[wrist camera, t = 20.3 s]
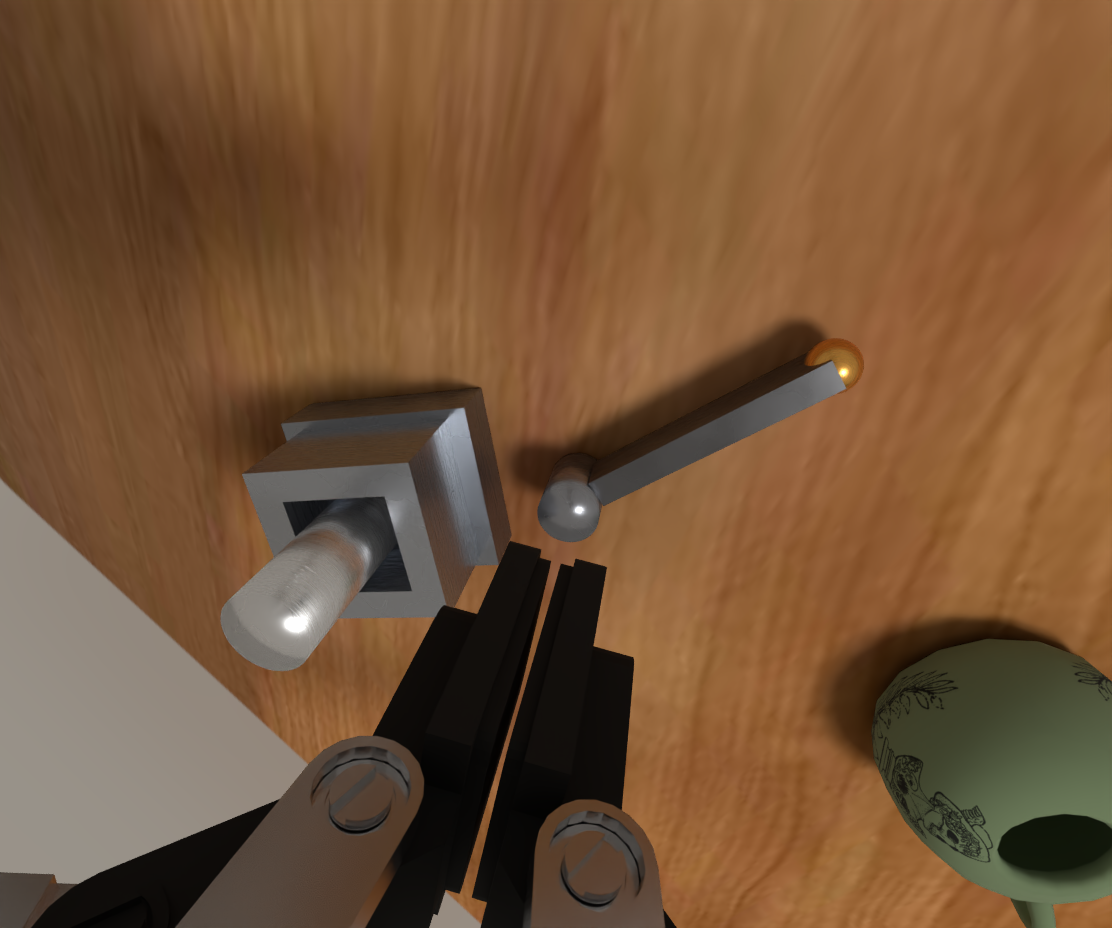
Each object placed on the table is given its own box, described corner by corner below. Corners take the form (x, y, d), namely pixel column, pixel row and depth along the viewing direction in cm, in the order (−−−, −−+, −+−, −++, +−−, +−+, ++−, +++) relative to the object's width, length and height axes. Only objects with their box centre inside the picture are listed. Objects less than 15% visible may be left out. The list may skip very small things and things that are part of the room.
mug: (850, 633, 36) (898, 763, 28) (1121, 607, 32) (1259, 746, 25) (873, 824, 42) (917, 974, 34) (1103, 819, 38) (1210, 984, 31)
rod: (348, 469, 33) (205, 597, 23) (410, 461, 32) (287, 590, 22) (370, 528, 35) (244, 672, 25) (430, 522, 34) (323, 669, 24)
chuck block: (310, 403, 35) (218, 465, 28) (481, 388, 33) (427, 450, 26) (355, 541, 39) (283, 626, 32) (511, 535, 37) (471, 625, 30)
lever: (835, 312, 28) (858, 334, 25) (862, 368, 29) (888, 397, 26) (541, 468, 34) (525, 504, 31) (571, 511, 35) (559, 551, 32)
